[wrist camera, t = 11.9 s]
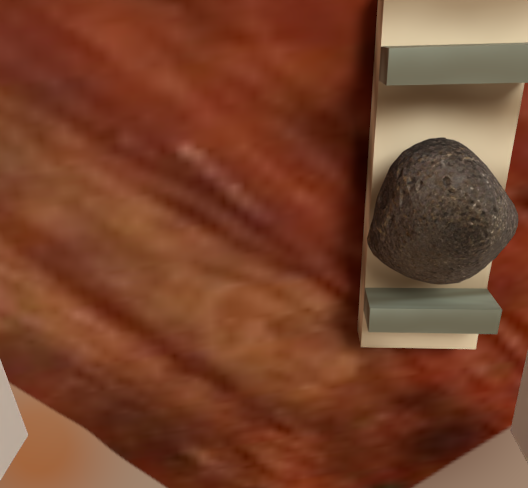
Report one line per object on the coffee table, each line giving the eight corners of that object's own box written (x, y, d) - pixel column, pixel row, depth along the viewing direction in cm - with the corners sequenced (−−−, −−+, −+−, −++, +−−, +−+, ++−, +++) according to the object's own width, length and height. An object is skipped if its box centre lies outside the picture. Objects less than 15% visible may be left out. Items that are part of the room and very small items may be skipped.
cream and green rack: (378, -15, 31) (394, -23, 26) (525, -20, 30) (570, -30, 25) (357, 329, 41) (365, 371, 36) (465, 331, 41) (489, 373, 36)
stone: (448, 247, 39) (577, 222, 30) (390, 313, 35) (520, 306, 26) (385, 143, 37) (502, 86, 29) (316, 200, 33) (429, 153, 25)
